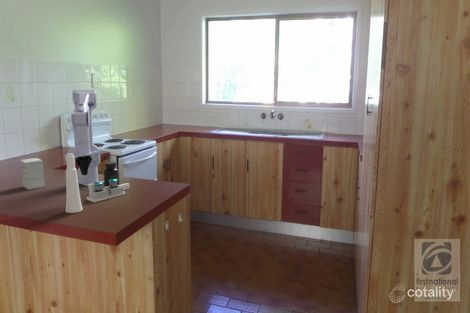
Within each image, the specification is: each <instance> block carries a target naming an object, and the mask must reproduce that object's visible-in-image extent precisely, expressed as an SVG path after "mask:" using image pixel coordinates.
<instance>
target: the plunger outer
mask: <svg viewBox="0 0 470 313" xmlns="http://www.w3.org/2000/svg"><path fill="white" fill-rule="evenodd" d="M102 184H103V182H94V186H95V192H101V191H102V188H103V187H102Z"/></svg>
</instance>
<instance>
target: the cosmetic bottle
mask: <svg viewBox="0 0 470 313" xmlns="http://www.w3.org/2000/svg"><path fill="white" fill-rule="evenodd" d="M73 153H74V152H67V153H66V154H67V156H66V160H65V161H66V169H65V188H66V190H65V191H66V193H65V194H66V196H65V197H66V198H65V201H66V204H65V212H66V213H68V214H75V213H79V212H82V211H83V210H84V209H83V205H82V200H81V194H80V187H79V186H80V185H79V183H78V181H79V178H78V169H77V168H76V161H75V159H74V156H73Z"/></svg>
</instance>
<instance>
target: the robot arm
mask: <svg viewBox="0 0 470 313" xmlns="http://www.w3.org/2000/svg"><path fill="white" fill-rule="evenodd" d="M97 100H98V99H97V90H96V89H73V90H72V102H73V105H74V109H73V110H74V111H73V113H71V118H70V119H71V126H72V131H73V139H74V152H72V153H73V156H74V159H75V163H77V164H76V165H78V169H77V177H78V185H79V184H80V185H83V186H84V187H88V184H92V183H94V182H101V181H102V180H99V173H98V172H99V171H98V165H100V163H101V154H102V153H101V150H100V148H99V147H98V146H96V144H94V138H93V121H92V120H93V118H92V113H93V110H94V109H96V108H97V106H98V104H97ZM66 156H67V153H66V154H64V156H63V157H64V161H66Z"/></svg>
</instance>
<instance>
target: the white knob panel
mask: <svg viewBox="0 0 470 313" xmlns="http://www.w3.org/2000/svg"><path fill="white" fill-rule="evenodd" d="M100 181H101V182H103V184H102V191H101V192H95V186H94V183H92V184H88V186H87V187H88V196H86V200H87V201H89V202H92V203H96V202H97V203H98V202H102V201H104V200H109V199H113V198H117V197H120V196H124V195H126V194H127V192H126V190H130V183H129V182H125V183H121V184H120V185H117V188H114V189H111V188H110V186H107V187H104V180H100Z"/></svg>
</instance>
